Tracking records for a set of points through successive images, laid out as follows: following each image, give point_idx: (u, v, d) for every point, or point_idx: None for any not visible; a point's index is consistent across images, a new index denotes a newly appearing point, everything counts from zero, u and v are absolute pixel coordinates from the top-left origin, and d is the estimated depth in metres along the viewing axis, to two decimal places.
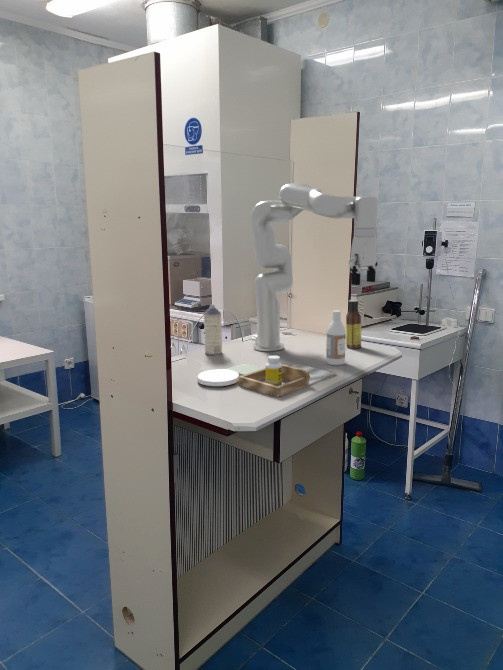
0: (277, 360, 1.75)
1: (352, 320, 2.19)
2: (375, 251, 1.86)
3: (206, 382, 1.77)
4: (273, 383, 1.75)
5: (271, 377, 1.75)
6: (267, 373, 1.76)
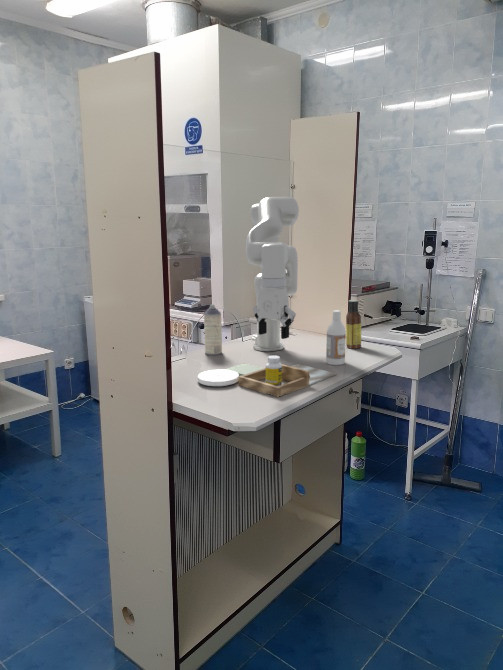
0: (277, 360, 1.75)
1: (352, 320, 2.19)
2: None
3: (206, 382, 1.77)
4: (273, 383, 1.75)
5: (271, 377, 1.75)
6: (267, 373, 1.76)
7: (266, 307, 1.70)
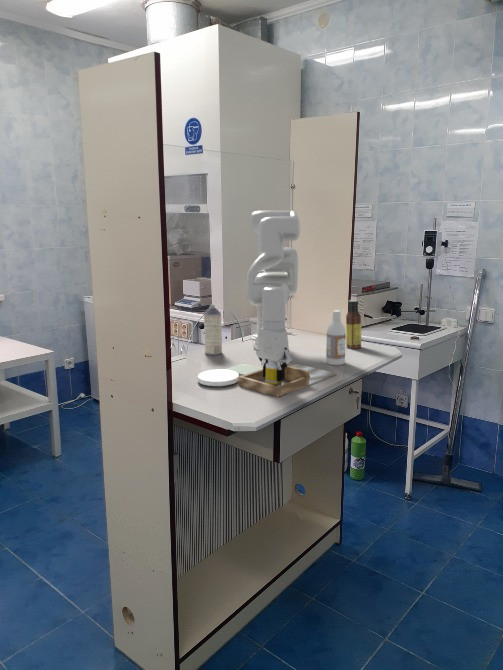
0: None
1: (352, 320, 2.19)
2: None
3: (206, 382, 1.77)
4: (273, 383, 1.75)
5: (271, 376, 1.75)
6: (267, 373, 1.76)
7: (266, 348, 1.74)
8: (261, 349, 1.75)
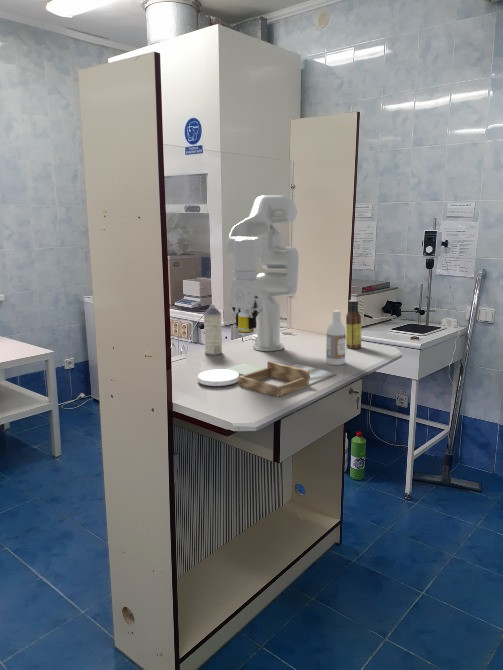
0: None
1: (352, 320, 2.19)
2: None
3: (206, 382, 1.77)
4: (245, 331, 1.85)
5: (243, 324, 1.85)
6: (239, 321, 1.85)
7: (238, 297, 1.84)
8: (234, 298, 1.85)
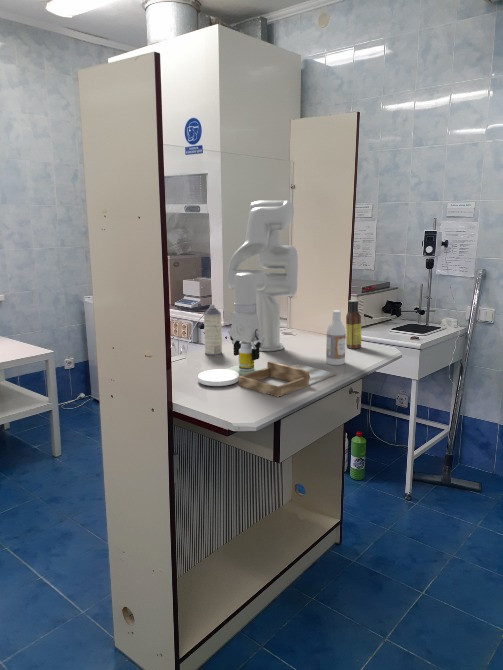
0: (249, 345, 1.88)
1: (352, 320, 2.19)
2: None
3: (206, 382, 1.77)
4: (245, 367, 1.88)
5: (243, 361, 1.88)
6: (240, 357, 1.89)
7: (239, 330, 1.86)
8: (234, 331, 1.88)
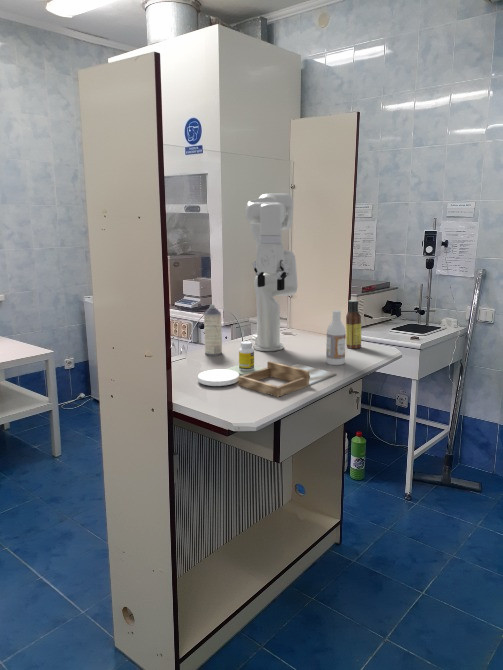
0: (249, 345, 1.88)
1: (352, 320, 2.19)
2: None
3: (206, 382, 1.77)
4: (245, 367, 1.88)
5: (243, 361, 1.88)
6: (240, 357, 1.89)
7: (264, 262, 1.89)
8: (259, 263, 1.90)
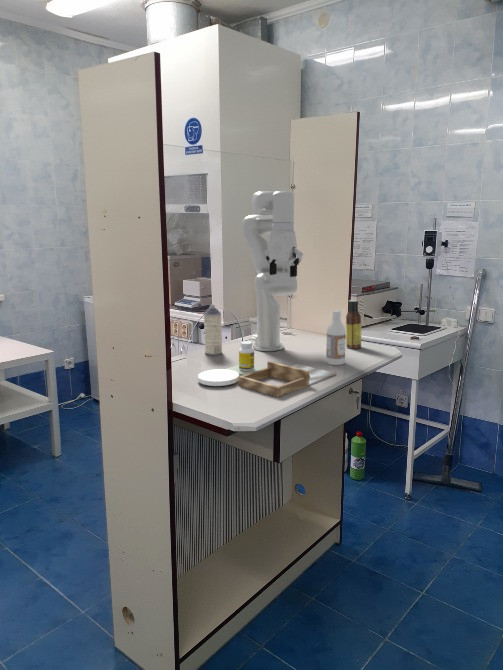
0: (249, 345, 1.88)
1: (352, 320, 2.19)
2: None
3: (206, 382, 1.77)
4: (246, 367, 1.88)
5: (243, 361, 1.88)
6: (240, 357, 1.89)
7: (276, 249, 1.91)
8: (272, 250, 1.93)
